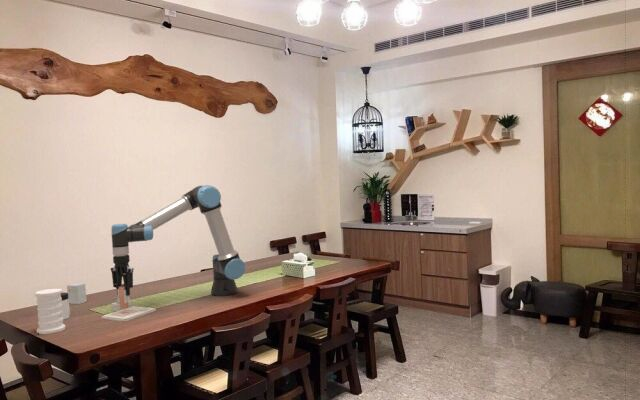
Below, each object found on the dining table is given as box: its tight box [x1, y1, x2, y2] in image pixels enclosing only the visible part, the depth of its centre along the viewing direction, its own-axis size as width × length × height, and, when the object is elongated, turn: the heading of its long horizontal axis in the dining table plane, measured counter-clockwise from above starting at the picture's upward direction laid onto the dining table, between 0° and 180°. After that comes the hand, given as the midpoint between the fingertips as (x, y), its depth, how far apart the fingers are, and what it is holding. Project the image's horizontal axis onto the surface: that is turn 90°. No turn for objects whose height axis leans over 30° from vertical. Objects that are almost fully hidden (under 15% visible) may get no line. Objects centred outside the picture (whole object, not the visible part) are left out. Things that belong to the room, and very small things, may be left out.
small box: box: [66, 282, 87, 305], centre depth 284 cm, size 8×6×10 cm
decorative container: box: [34, 288, 66, 335], centre depth 230 cm, size 12×12×18 cm
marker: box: [119, 283, 129, 309], centre depth 251 cm, size 4×4×12 cm
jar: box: [61, 292, 71, 320], centre depth 251 cm, size 9×8×12 cm
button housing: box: [110, 300, 133, 312], centre depth 265 cm, size 7×7×4 cm
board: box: [101, 305, 157, 322], centre depth 253 cm, size 16×20×1 cm
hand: (124, 301), depth 251 cm, fingers closed on marker, 3 cm apart
